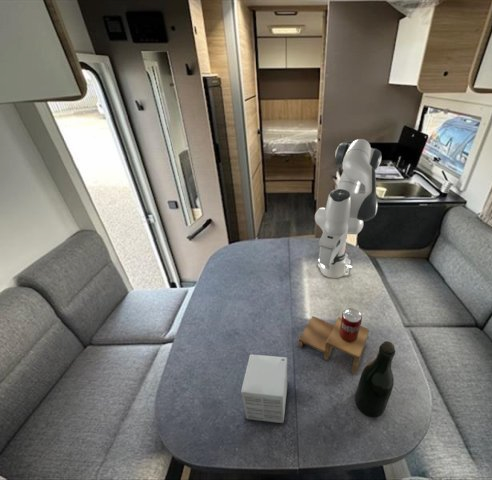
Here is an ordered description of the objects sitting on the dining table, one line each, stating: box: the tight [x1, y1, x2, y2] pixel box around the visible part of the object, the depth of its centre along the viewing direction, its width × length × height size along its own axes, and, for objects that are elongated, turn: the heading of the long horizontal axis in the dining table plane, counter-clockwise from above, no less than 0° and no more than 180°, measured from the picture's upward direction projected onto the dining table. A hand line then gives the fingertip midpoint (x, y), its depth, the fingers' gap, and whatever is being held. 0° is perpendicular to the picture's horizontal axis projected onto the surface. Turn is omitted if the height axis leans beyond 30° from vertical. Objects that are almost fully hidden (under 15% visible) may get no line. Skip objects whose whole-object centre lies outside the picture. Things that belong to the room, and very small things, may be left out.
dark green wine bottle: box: [354, 340, 396, 419], centre depth 84 cm, size 10×10×33 cm
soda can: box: [339, 307, 363, 342], centre depth 100 cm, size 7×7×12 cm
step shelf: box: [298, 315, 370, 374], centre depth 109 cm, size 14×25×11 cm, turn 61°
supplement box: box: [240, 354, 289, 424], centre depth 89 cm, size 13×13×18 cm
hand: (332, 261), depth 106 cm, fingers open, 8 cm apart
